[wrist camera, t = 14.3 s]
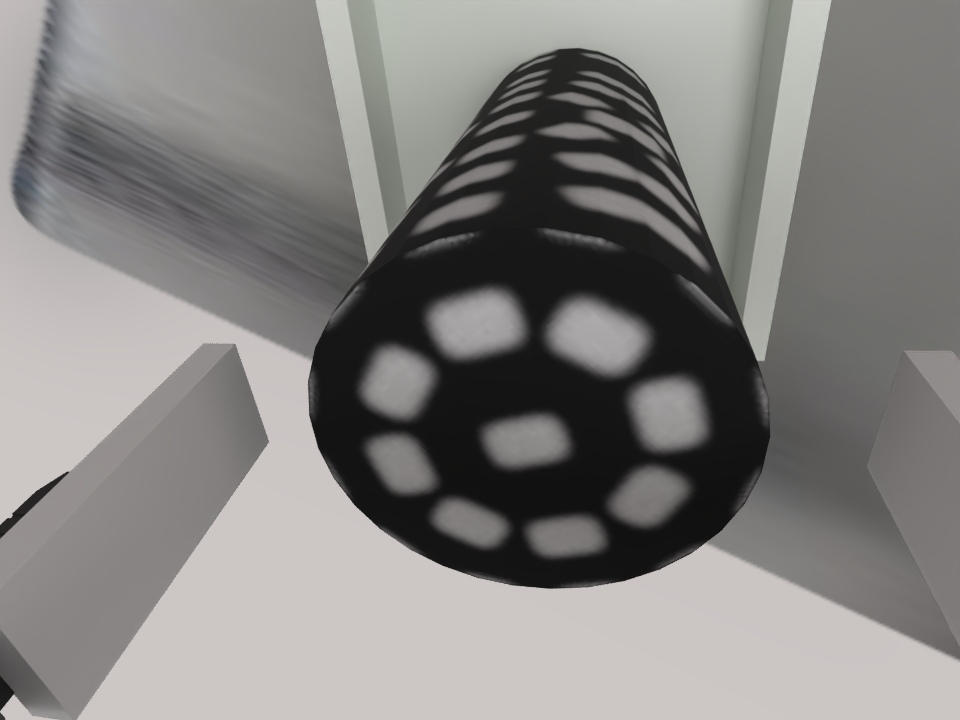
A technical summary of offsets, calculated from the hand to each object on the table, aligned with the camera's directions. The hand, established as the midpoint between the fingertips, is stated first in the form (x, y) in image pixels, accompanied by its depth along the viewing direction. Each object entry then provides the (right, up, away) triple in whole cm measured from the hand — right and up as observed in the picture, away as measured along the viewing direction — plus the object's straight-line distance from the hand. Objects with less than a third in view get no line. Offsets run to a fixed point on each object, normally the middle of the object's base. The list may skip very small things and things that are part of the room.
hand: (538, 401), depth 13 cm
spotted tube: (+3, +10, +15) cm, 19 cm away
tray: (+3, +11, +16) cm, 20 cm away
